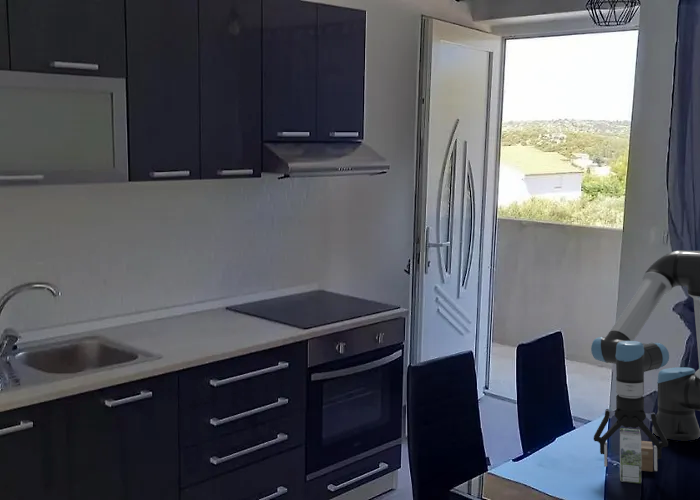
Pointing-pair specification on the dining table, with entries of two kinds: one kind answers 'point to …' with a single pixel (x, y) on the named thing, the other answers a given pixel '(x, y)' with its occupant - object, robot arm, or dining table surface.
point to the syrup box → (630, 455)
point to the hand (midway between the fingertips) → (630, 467)
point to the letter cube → (646, 456)
